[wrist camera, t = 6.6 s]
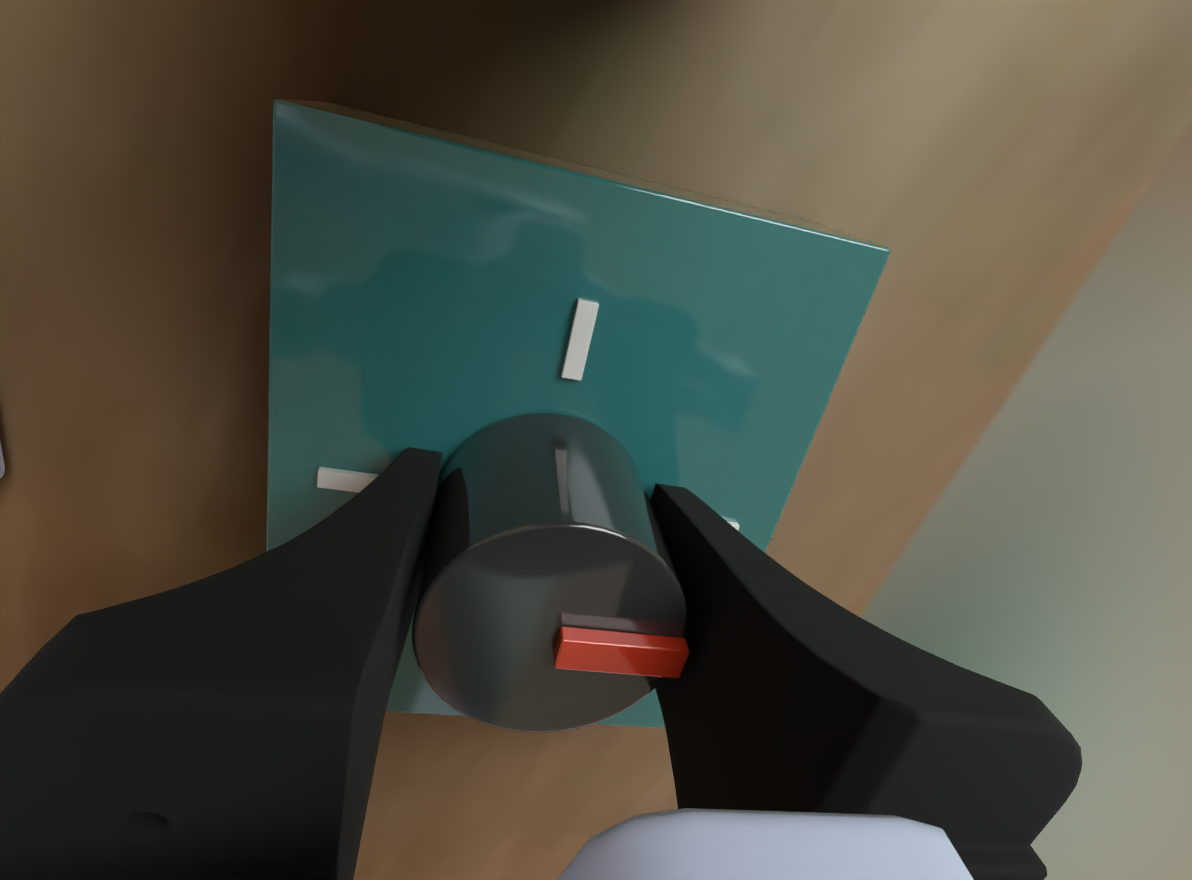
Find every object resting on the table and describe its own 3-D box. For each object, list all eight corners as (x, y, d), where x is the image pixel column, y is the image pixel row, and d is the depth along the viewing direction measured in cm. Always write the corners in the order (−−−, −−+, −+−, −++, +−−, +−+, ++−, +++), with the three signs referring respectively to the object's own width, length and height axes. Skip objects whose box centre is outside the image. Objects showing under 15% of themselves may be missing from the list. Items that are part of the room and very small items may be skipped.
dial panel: (325, 101, 12) (267, 97, 9) (818, 223, 14) (898, 250, 11) (301, 611, 17) (260, 711, 14) (665, 643, 19) (693, 736, 16)
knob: (424, 575, 13) (393, 744, 9) (451, 394, 11) (427, 518, 8) (615, 596, 14) (651, 758, 10) (666, 430, 12) (730, 556, 9)
